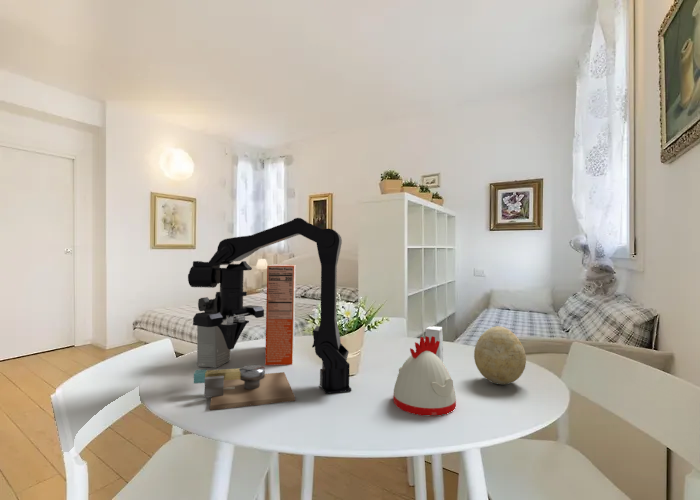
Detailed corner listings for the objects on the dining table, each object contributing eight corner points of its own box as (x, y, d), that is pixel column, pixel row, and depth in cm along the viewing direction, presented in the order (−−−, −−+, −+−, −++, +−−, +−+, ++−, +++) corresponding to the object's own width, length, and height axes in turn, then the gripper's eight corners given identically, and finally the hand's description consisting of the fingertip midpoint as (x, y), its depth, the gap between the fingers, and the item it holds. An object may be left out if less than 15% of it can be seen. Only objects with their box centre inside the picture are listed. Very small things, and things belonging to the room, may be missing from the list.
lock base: (283, 374, 100) (283, 356, 100) (294, 400, 82) (295, 378, 82) (208, 380, 94) (208, 361, 94) (202, 411, 75) (203, 387, 76)
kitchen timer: (469, 408, 79) (469, 340, 79) (421, 421, 72) (421, 346, 73) (426, 388, 91) (426, 328, 91) (381, 397, 84) (382, 333, 85)
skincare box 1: (216, 368, 104) (217, 314, 104) (194, 367, 105) (195, 312, 106) (231, 360, 112) (232, 310, 113) (210, 359, 114) (212, 309, 114)
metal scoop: (264, 372, 91) (264, 364, 91) (265, 380, 85) (265, 371, 85) (196, 377, 87) (197, 368, 87) (192, 385, 81) (192, 375, 81)
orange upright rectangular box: (271, 346, 131) (273, 264, 132) (294, 346, 132) (295, 264, 133) (265, 365, 108) (267, 265, 109) (292, 364, 109) (294, 266, 110)
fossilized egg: (477, 372, 104) (477, 320, 104) (525, 379, 98) (526, 324, 99) (470, 386, 93) (471, 328, 93) (525, 395, 87) (526, 333, 87)
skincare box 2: (440, 372, 104) (440, 330, 104) (424, 370, 106) (425, 328, 106) (443, 366, 109) (443, 326, 110) (428, 364, 111) (429, 325, 112)
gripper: (236, 284, 104) (235, 338, 104) (178, 288, 88) (177, 353, 87) (265, 286, 99) (264, 343, 98) (210, 291, 82) (208, 359, 82)
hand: (230, 349), depth 92 cm, fingers closed
